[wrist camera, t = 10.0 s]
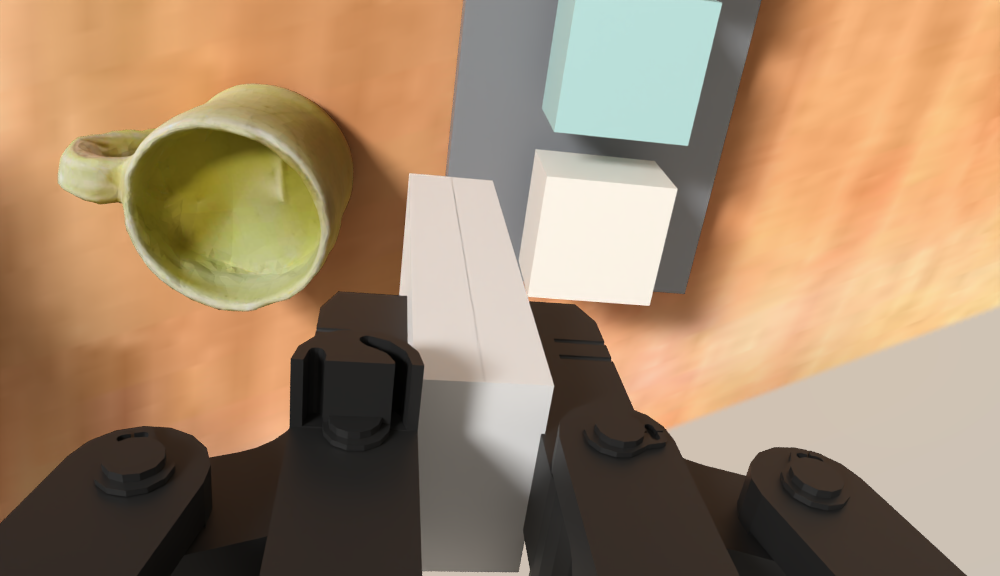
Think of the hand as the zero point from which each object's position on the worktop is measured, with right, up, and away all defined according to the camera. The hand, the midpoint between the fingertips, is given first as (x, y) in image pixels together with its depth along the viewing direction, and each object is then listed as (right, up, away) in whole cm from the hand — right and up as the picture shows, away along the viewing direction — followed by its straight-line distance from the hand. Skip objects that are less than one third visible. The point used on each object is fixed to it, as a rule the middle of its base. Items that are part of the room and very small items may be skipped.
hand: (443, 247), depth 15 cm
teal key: (+6, +10, +22) cm, 25 cm away
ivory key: (+5, +3, +26) cm, 26 cm away
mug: (-13, +6, +27) cm, 30 cm away
